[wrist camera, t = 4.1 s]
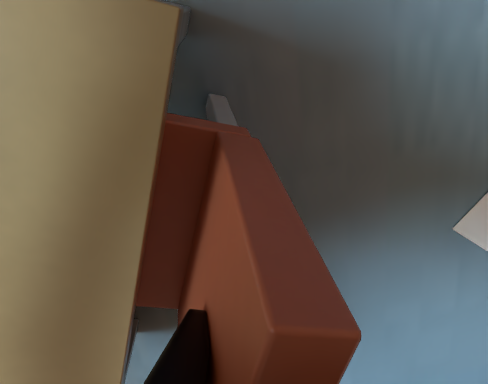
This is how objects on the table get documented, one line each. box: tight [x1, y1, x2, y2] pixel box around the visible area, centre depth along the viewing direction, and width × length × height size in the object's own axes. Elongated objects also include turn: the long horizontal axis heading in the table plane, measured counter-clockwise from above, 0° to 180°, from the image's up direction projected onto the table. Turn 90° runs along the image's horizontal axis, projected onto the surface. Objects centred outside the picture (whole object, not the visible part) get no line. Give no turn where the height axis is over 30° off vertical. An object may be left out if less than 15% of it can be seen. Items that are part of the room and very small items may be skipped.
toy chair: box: [136, 94, 361, 384], centre depth 11 cm, size 6×6×12 cm
